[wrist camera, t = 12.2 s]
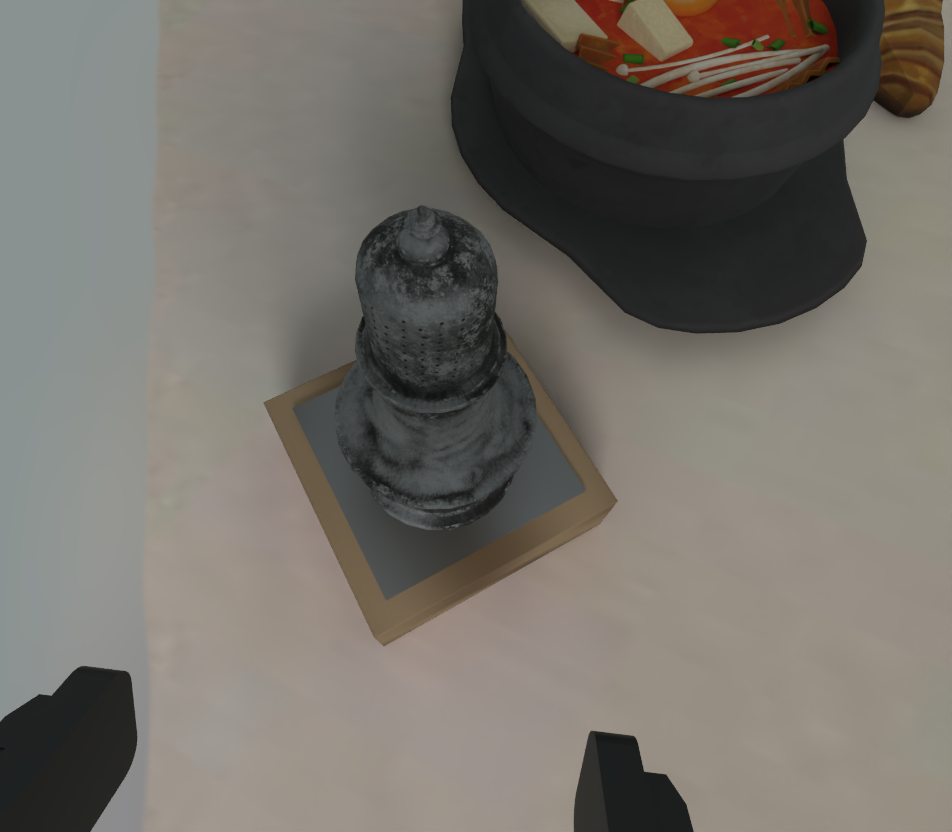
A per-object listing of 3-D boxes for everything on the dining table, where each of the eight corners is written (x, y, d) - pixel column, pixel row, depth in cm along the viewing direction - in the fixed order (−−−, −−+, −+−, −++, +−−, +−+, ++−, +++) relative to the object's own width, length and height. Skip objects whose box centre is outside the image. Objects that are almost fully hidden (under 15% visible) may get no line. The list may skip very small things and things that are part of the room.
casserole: (939, 290, 30) (1107, 145, 22) (560, 410, 27) (602, 291, 19) (688, -43, 39) (744, -226, 31) (386, 19, 36) (368, -167, 28)
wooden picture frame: (482, 341, 28) (486, 298, 25) (599, 523, 25) (619, 498, 22) (283, 434, 26) (261, 399, 23) (383, 646, 23) (373, 636, 20)
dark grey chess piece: (454, 577, 21) (453, 426, 10) (315, 469, 22) (174, 231, 11) (558, 438, 23) (654, 185, 12) (425, 348, 24) (398, 44, 13)
